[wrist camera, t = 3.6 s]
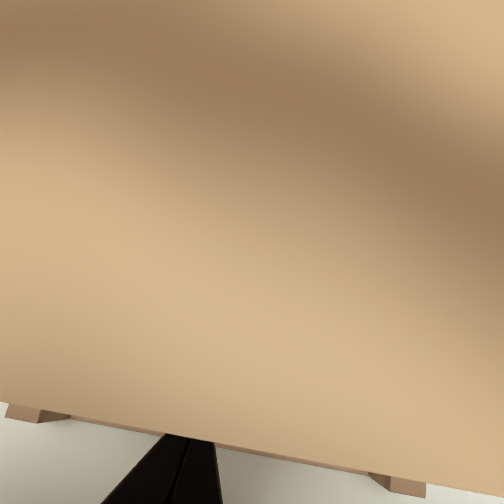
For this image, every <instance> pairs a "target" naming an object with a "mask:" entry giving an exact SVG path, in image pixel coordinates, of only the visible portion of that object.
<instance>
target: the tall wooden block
mask: <svg viewBox="0 0 504 504" xmlns="http://www.w3.org/2000/svg"><path fill="white" fill-rule="evenodd" d="M0 402H5V403H11V404H16V405H21V406H26V407H32V408H37V409H42V410H47V411H52V412H58V413H63V414H68V415H73V416H79V417H84V418H89V419H94V420H100V421H105V422H110V423H115V424H121V425H126V426H131V427H136V428H142V429H147V430H152V431H157V432H163V433H168V434H173V435H178V436H184V437H189V438H194V439H199V440H204V441H210V442H215V443H220V444H225V445H231V446H236V447H241V448H246V449H252V450H257V451H262V452H267V453H273V454H278V455H283V456H288V457H294V458H299V459H304V460H309V461H315V462H320V463H325V464H330V465H336V466H341V467H346V468H351V469H356V470H362V471H367V472H372V473H377V474H383V475H388V476H393V477H398V478H404V479H409V480H414V481H419V482H425V483H430V484H435V485H440V486H446V487H451V488H456V489H461V490H467V491H472V492H477V493H482V494H488V495H493V496H498V497H503V498H504V0H0Z"/></svg>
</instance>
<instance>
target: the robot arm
mask: <svg viewBox="0 0 504 504" xmlns="http://www.w3.org/2000/svg"><path fill="white" fill-rule="evenodd" d="M101 504H223V501H222V494H221V486H220V479H219V472H218V464H217V457H216V449H215V442H210V441H204V440H199V439H194V438H189V437H184V436H178V435H173V434H168V433H165V434H164V435H163V436H162V437H161V438H160V440H159V441H158V442H157V443H156V444H155V445H154V446H153V447H152V448H151V449H150V450H149V452H148V453H147V454H146V455H145V456H144V457H143V458H142V459H141V460H140V461H139V462H138V464H137V465H136V466H135V467H134V468H133V469H132V470H131V471H130V472H129V473H128V474H127V476H126V477H125V478H124V479H123V480H122V481H121V482H120V483H119V484H118V485H117V486H116V488H115V489H114V490H113V491H112V492H111V493H110V494H109V495H108V496H107V497H106V498H105V500H104V501H103V502H102V503H101Z"/></svg>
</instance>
